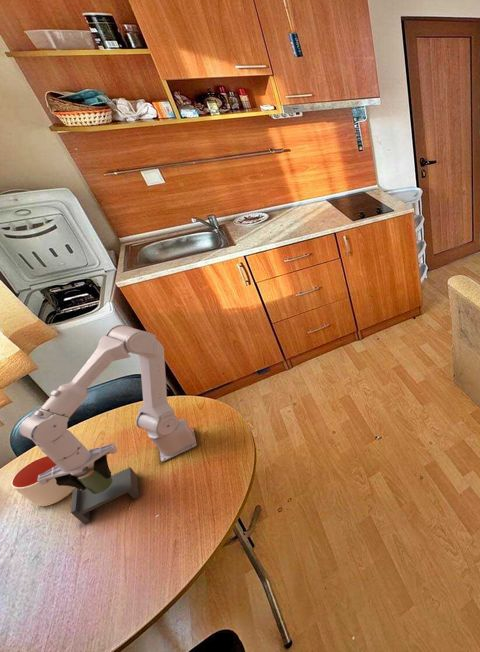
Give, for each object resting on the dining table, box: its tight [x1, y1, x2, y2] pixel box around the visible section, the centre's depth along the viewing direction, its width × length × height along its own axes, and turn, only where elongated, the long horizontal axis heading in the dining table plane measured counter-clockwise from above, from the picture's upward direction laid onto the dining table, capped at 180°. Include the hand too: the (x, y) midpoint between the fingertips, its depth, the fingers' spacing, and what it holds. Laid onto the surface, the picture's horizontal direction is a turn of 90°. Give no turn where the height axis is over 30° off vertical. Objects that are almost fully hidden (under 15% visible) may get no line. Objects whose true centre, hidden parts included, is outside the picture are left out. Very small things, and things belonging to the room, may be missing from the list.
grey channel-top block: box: [70, 466, 140, 525], centre depth 103 cm, size 12×8×6 cm, turn 128°
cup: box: [10, 455, 75, 507], centre depth 104 cm, size 10×10×10 cm
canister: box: [73, 462, 112, 494], centre depth 99 cm, size 5×5×8 cm
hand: (97, 481), depth 100 cm, fingers closed on canister, 4 cm apart
